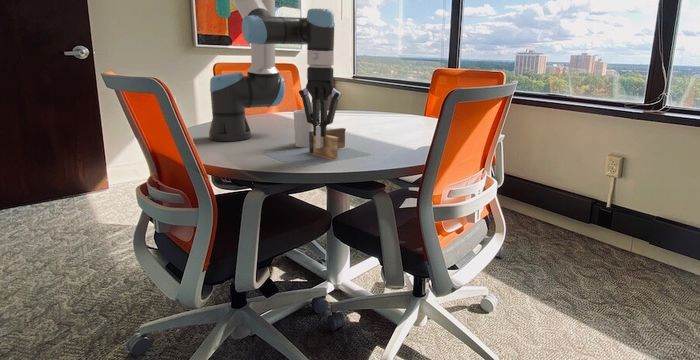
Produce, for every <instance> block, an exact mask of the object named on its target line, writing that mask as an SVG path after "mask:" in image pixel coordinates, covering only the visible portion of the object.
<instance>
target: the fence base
mask: <svg viewBox="0 0 700 360" xmlns="http://www.w3.org/2000/svg"><path fill="white" fill-rule="evenodd" d="M312 133H313V131H311V132H309V152H311V153H314V148H313V135H312ZM326 135H331V136H335V137H338V140H337V148H344V147H346V128H345V127H338V128H330V129H326Z"/></svg>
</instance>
